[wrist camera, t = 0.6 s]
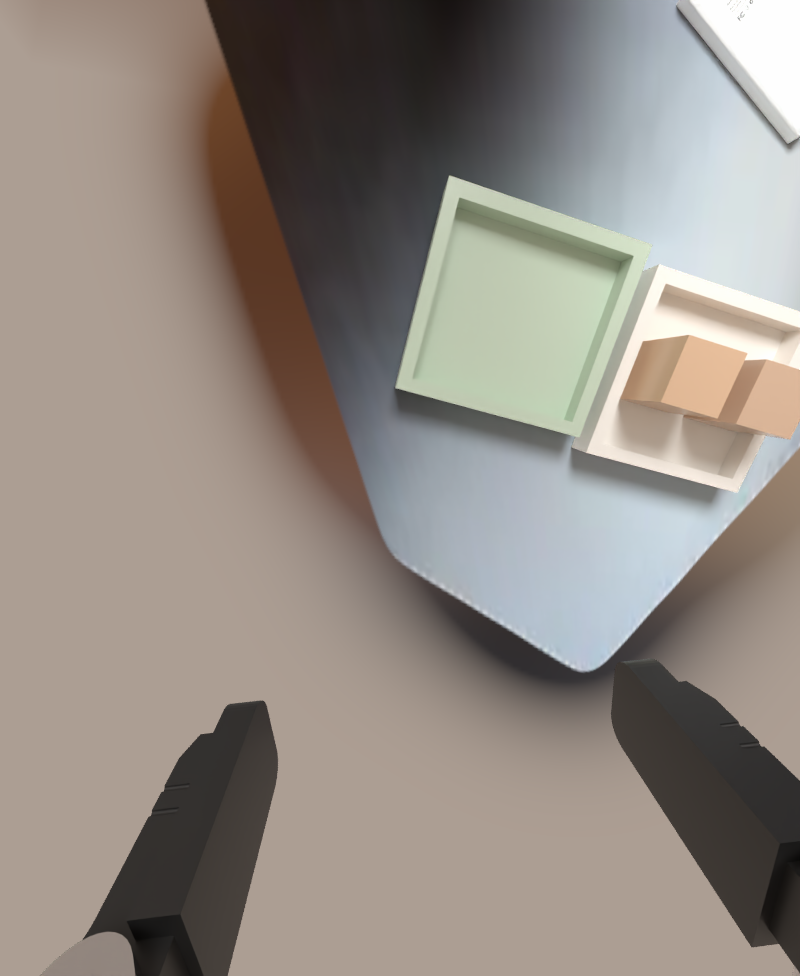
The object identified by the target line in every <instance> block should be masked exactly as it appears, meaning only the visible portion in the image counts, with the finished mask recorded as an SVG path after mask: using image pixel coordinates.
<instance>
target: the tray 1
mask: <svg viewBox="0 0 800 976" xmlns="http://www.w3.org/2000/svg"><path fill="white" fill-rule="evenodd" d="M651 247H652V244H649V243H646V242H643V241H640V240H637V239H634V238H631V237H628V236H625V235H622V234H619V233H617V232H614V231H611V230H608V229H605V228H602V227H599V226H596V225H593V224H590V223H587V222H584V221H581V220H578V219H576V218H573V217H570V216H567V215H564V214H561V213H558V212H555V211H552V210H549V209H546V208H543V207H540V206H538V205H535V204H532V203H529V202H526V201H523V200H520V199H517V198H514V197H511V196H508V195H505V194H502V193H500V192H497V191H494V190H491V189H488V188H485V187H482V186H479V185H476V184H473V183H470V182H467V181H464V180H462V179H459V178H456V177H453V176H450V175H449V178H448V181H447V184H446V186H445V189H444V192H443V196H442V200H441V204H440V208H439V212H438V216H437V220H436V224H435V228H434V232H433V236H432V240H431V244H430V248H429V252H428V256H427V260H426V264H425V268H424V272H423V276H422V280H421V284H420V288H419V292H418V296H417V300H416V304H415V308H414V312H413V316H412V320H411V324H410V328H409V332H408V336H407V340H406V344H405V348H404V352H403V356H402V360H401V364H400V368H399V372H398V376H397V380H396V384H395V388H397V389H401V390H405V391H408V392H412V393H416V394H419V395H423V396H427V397H431V398H434V399H438V400H442V401H445V402H449V403H453V404H457V405H460V406H464V407H468V408H471V409H475V410H479V411H483V412H486V413H490V414H494V415H497V416H501V417H505V418H508V419H512V420H516V421H520V422H523V423H527V424H531V425H534V426H538V427H542V428H546V429H549V430H553V431H557V432H560V433H564V434H568V435H572V436H575V437H580V434H581V432H582V429H583V427H584V424H585V421H586V419H587V416H588V413H589V411H590V408H591V406H592V403H593V400H594V398H595V395H596V392H597V390H598V387H599V384H600V382H601V379H602V377H603V374H604V371H605V369H606V366H607V363H608V361H609V358H610V355H611V353H612V350H613V348H614V345H615V342H616V340H617V337H618V334H619V332H620V329H621V326H622V324H623V321H624V319H625V316H626V313H627V311H628V308H629V305H630V303H631V300H632V297H633V295H634V292H635V290H636V287H637V284H638V282H639V279H640V276H641V274H642V271H643V268H644V266H645V263H646V261H647V258H648V255H649V253H650V250H651Z"/></svg>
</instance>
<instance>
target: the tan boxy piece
mask: <svg viewBox="0 0 800 976" xmlns="http://www.w3.org/2000/svg"><path fill="white" fill-rule="evenodd" d="M747 354H748V353H745V352H742V351H739V350H736V349H733V348H730V347H726V346H723V345H720V344H717V343H714V342H711V341H707V340H704V339H701V338H698V337H695V336H692V335H684V336H677V337H670V338H663V339H656V340H649V341H643V342H642V345H641V347H640V350H639V352H638V355H637V357H636V360H635V362H634V365H633V367H632V370H631V372H630V375H629V377H628V380H627V382H626V385H625V387H624V390H623V393H622V395H621V398H620V399H621V400H625V401H628V402H632V403H635V404H639V405H642V406H646V407H649V408H653V409H656V410H660V411H663V412H667V413H674V414H683V415H691V416H700V417H708V418H717V419H718V417H719V414H720V412H721V410H722V408H723V406H724V404H725V401H726V399H727V397H728V395H729V393H730V391H731V389H732V386H733V384H734V382H735V380H736V378H737V376H738V373H739V371H740V369H741V367H742V365H743V363H744V361H745V358H746V356H747Z"/></svg>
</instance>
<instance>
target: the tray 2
mask: <svg viewBox="0 0 800 976" xmlns="http://www.w3.org/2000/svg"><path fill="white" fill-rule="evenodd" d="M684 335H692V336H695V337H698V338H701V339H704V340H707V341H711V342H714V343H717V344H720V345H723V346H726V347H730V348H733V349H736V350H739V351H742V352H745V353H748V354H747V356H746V358H745V360H762V359H768V360H771V361H774V362H777V363H780V364H784V365H787V366H790V367H793V368H796V369H800V312H799V311H796V310H793V309H790V308H787V307H785V306H782V305H779V304H776V303H773V302H770V301H767V300H764V299H761V298H758V297H755V296H752V295H749V294H746V293H743V292H740V291H737V290H734V289H731V288H728V287H725V286H722V285H719V284H716V283H713V282H710V281H707V280H704V279H701V278H698V277H695V276H692V275H689V274H686V273H683V272H680V271H677V270H674V269H671V268H668V267H665V266H663V265H660V264H659V265H656V266H654V267H652V268H649V269H647V270H644V271H642V274H641V276H640V279H639V282H638V284H637V287H636V290H635V292H634V295H633V297H632V300H631V303H630V305H629V308H628V311H627V313H626V316H625V319H624V321H623V324H622V326H621V329H620V332H619V334H618V337H617V340H616V342H615V345H614V348H613V350H612V353H611V355H610V358H609V361H608V363H607V366H606V369H605V371H604V374H603V377H602V379H601V382H600V384H599V387H598V390H597V392H596V395H595V398H594V400H593V403H592V406H591V408H590V411H589V413H588V416H587V419H586V421H585V424H584V427H583V429H582V432H581V434H580V437H575V439H574V442H573V444H572V447H571V448H574V449H577V450H580V451H583V452H585V453H589V454H593V455H596V456H600V457H604V458H608V459H612V460H615V461H619V462H623V463H627V464H630V465H634V466H638V467H642V468H646V469H649V470H653V471H657V472H661V473H664V474H668V475H672V476H676V477H679V478H683V479H687V480H691V481H695V482H698V483H702V484H706V485H710V486H713V487H717V488H721V489H725V490H728V491H732V492H736V493H737V492H738V490H739V488H740V486H741V484H742V482H743V480H744V478H745V476H746V474H747V472H748V470H749V468H750V466H751V464H752V462H753V460H754V458H755V456H756V454H757V452H758V450H759V448H760V446H761V444H762V442H763V440H764V438H765V436H763V435H756V434H749V433H743V432H736V431H729V430H726V429H722V428H719V427H715V426H712V425H708V424H705V423H701V422H698V421H694V420H691V419H688V418H684V417H683V416H684V415H683V414H674V413H667V412H663V411H660V410H656V409H653V408H649V407H646V406H642V405H639V404H635V403H632V402H628V401H625V400H621V399H620V398H621V395H622V393H623V390H624V387H625V385H626V382H627V380H628V377H629V375H630V372H631V370H632V367H633V365H634V362H635V360H636V357H637V355H638V352H639V350H640V347H641V345H642V342H643V341H649V340H656V339H663V338H670V337H677V336H684Z"/></svg>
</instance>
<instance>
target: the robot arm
mask: <svg viewBox="0 0 800 976" xmlns="http://www.w3.org/2000/svg"><path fill="white" fill-rule="evenodd" d="M611 718H612V724H613V728H614V731H615V734H616V737H617V739H618V741H619V743H620V745H621V747H622V748H623V750H624V752H625V753H626V755H627V756H628V758H629V759H630V761H631V762H632V764H633V765H634V767H635V768H636V770H637V772H638V773H639V775H640V776H641V778H642V779H643V781H644V782H645V784H646V785H647V787H648V788H649V790H650V791H651V793H652V795H653V796H654V798H655V799H656V801H657V802H658V804H659V805H660V807H661V808H662V810H663V812H664V813H665V815H666V816H667V817H668V819H669V821H670V822H671V824H672V825H673V827H674V828H675V830H676V832H677V833H678V834H679V836H680V838H681V839H682V841H683V842H684V844H685V845H686V847H687V848H688V850H689V852H690V853H691V855H692V856H693V858H694V859H695V861H696V862H697V864H698V865H699V867H700V868H701V870H702V872H703V873H704V875H705V876H706V878H707V879H708V881H709V882H710V884H711V885H712V887H713V888H714V890H715V891H716V893H717V895H718V896H719V897H720V899H721V901H722V902H723V904H724V905H725V907H726V908H727V910H728V912H729V913H730V915H731V916H732V918H733V919H734V921H735V922H736V924H737V925H738V927H739V928H740V930H741V932H742V933H743V934H744V936H745V938H746V939H747V941H748V942H749V944H750V945H751V947H758V946H765V945H773V944H780V946H781V947H782V949H783V950H784V951H785V953H786V954H787V956H788V957H789V959H790V960H791V961H792V963H793V964H794V968H793V976H800V781H799V780H798V779H797V778H796V777H795V776H794V775H793V774H792V773H791V772H790V771H789V770H788V769H787V768H786V767H785V766H784V765H783V764H781V762H780V761H779V760H778V759H776V758H775V756H773V755H772V754H771V753H770V752H769V751H768V750H767V749H766V748H765V747H761V746H760V744H759V741H758V740H757V739H756V738H755V737H754V736H753V735H752V734H751V733H749V731H748V730H746V728H745V727H743V726H742V727H741V726H740V725H739V722H738V721H737V720H736V719H735V718H734V717H733V716H732V715H731V714H730V713H729V712H728V711H727V710H726V709H725V708H724V707H723V706H722V705H721V704H720V703H719V702H718V701H717V700H716V699H714V698H713V697H711V696H709V695H708V694H706V693H705V692H703V691H701V690H700V689H698V688H697V687H695V686H693V685H692V684H690V683H688V682H687V681H683V682H678V681H677V680H676V679H675V678H674V677H673V676H672V675H671V674H670V673H669V672H668V670H666V669H665V667H664V666H663V665H661V664H660V663H659V662H658V661H657V660H655V659H644V660H635V661H626V662H619V663H617V665H616V667H615V675H614V687H613V699H612V710H611ZM277 771H278V756H277V749H276V744H275V740H274V736H273V731H272V727H271V723H270V718H269V714H268V710H267V706H266V704H265V702H264V701H254V702H244V703H235V704H229V705H227V706H226V708H225V709H224V711H223V713H222V715H221V718H220V720H219V722H218V724H217V726H216V728H215V730H214V732H213V733H209V734H201V735H200V736H199V737H198V738H197V739H196V740H195V741H194V742H193V743H192V745H191V746H190V747H189V748H188V749H187V750H186V751H185V752H184V754H183V755H182V756H181V757H180V758H179V760H178V762H177V763H176V765H175V767H174V769H173V771H172V773H171V775H170V777H169V779H168V780H167V782H166V784H165V789H164V792H161V794H160V796H159V798H158V800H157V802H156V804H155V806H154V808H153V809H152V815H151V816H150V817H148V819H147V821H146V823H145V825H144V827H143V829H142V830H141V833H140V834H139V836H138V838H137V840H136V842H135V844H134V846H133V848H132V850H131V852H130V854H129V856H128V857H127V859H126V861H125V863H124V865H123V867H122V869H121V871H120V873H119V875H118V877H117V879H116V880H115V883H114V884H113V886H112V888H111V890H110V892H109V894H108V896H107V898H106V900H105V902H104V903H103V905H102V907H101V909H100V911H99V913H98V915H97V917H96V919H95V921H94V922H93V924H92V926H91V928H90V929H89V931H88V932H87V934H86V935H85V937H84V938H83V940H82V941H80V942H78V943H77V944H75V945H74V946H72V947H71V948H69V949H68V950H67V951H66V952H64V953H63V954H62V955H61V956H59V957H58V958H57V959H56V960H55V961H54V962H53V963H52V964H51V965H50V966H49V967H48V968H47V969H46V970H45V971H44V972H43V973H42V974H41V975H40V976H228V972H229V968H230V964H231V959H232V955H233V952H234V947H235V944H236V940H237V936H238V932H239V928H240V924H241V920H242V916H243V912H244V908H245V904H246V900H247V896H248V892H249V888H250V884H251V880H252V876H253V872H254V868H255V864H256V860H257V856H258V852H259V848H260V845H261V841H262V837H263V833H264V829H265V824H266V821H267V817H268V813H269V809H270V805H271V801H272V797H273V793H274V789H275V785H276V779H277Z"/></svg>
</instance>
